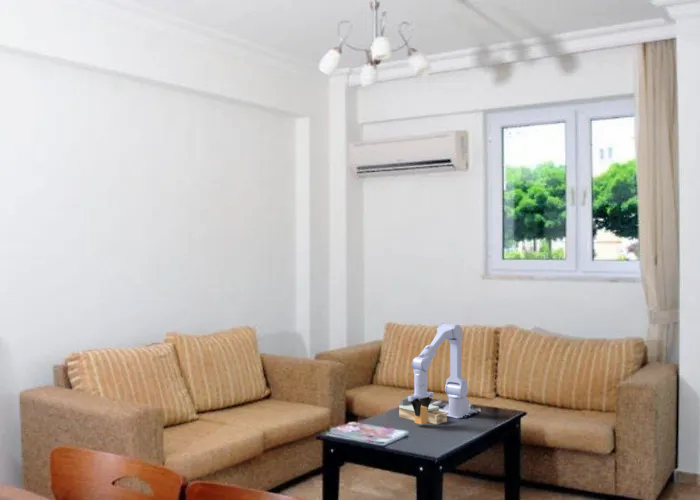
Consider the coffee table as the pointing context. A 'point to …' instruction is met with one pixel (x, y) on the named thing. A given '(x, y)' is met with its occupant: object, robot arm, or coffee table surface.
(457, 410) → the robot arm
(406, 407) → the lid
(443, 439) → the coffee table surface
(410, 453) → the coffee table surface
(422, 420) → the orange rectangular block
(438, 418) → the wooden tray
